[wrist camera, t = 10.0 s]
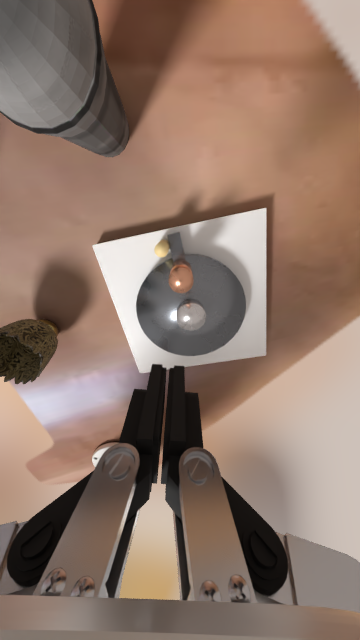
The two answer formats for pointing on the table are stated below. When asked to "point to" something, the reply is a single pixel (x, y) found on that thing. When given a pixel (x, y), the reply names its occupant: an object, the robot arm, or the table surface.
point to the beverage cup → (59, 74)
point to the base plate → (204, 239)
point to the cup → (26, 349)
